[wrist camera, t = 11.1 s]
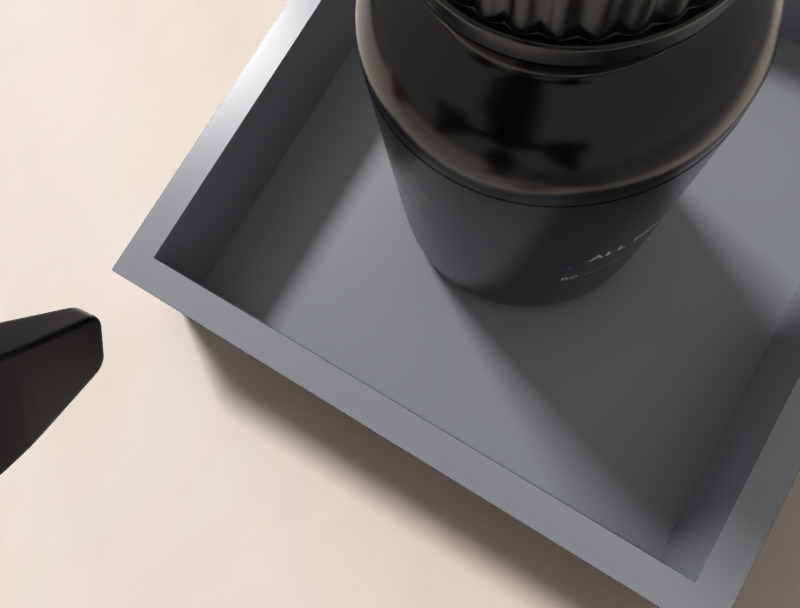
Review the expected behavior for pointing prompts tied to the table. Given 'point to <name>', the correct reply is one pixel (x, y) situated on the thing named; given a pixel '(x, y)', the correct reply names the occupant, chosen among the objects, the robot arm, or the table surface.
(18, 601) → the table surface
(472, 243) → the supplement bottle
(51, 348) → the robot arm
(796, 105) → the bin
